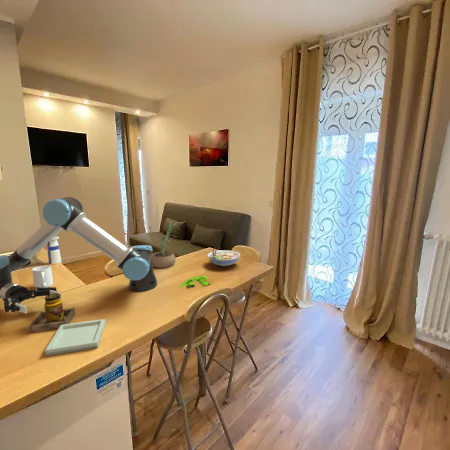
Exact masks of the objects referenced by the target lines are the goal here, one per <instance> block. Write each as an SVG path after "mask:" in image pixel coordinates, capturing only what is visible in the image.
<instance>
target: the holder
mask: <svg viewBox="0 0 450 450" xmlns="http://www.w3.org/2000/svg"><path fill="white" fill-rule="evenodd" d="M63 313H64V317H66V319H65V321H62V322H54V323H47V324H42V323H41V322H42V321H43V319H46V311H41V312H40V313H39V314H38V315H37V316H36V317H35V318H34V320H33V321H32V322H31V323H30V324H29V326H28V327H27V328H28V334H32V333H39V332H46V331H54V330H58V329H59V327H60V326H61V325H63V324H70V323H71V322H72V320H73V318H74V316H75V314H76V309H75V307H70V308H63ZM40 323H41V324H40Z"/></svg>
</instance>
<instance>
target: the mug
mask: <svg viewBox="0 0 450 450" xmlns="http://www.w3.org/2000/svg"><path fill="white" fill-rule="evenodd" d="M31 273H32V280H33V287H34V288H35V287H40V288H44V287H53V284H54V281H53V280H54V279H53V272H52V265H49V264H48V265H40V266H35V267H34V268H32V269H31Z"/></svg>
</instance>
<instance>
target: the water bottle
mask: <svg viewBox="0 0 450 450" xmlns="http://www.w3.org/2000/svg"><path fill="white" fill-rule="evenodd" d="M58 239H60V237H59V236H58V235H55V236H54V237H53V238H52V239H51V240H50V241H49V242H48V243H47V244H46V245H47V246H46V247H47V259H48V265H49V264H54V263H59V262H60V264H61V263H62V257H61V250H60V248H59V245H60V244H59V242H58Z"/></svg>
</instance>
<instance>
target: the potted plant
mask: <svg viewBox="0 0 450 450" xmlns="http://www.w3.org/2000/svg"><path fill="white" fill-rule="evenodd" d="M168 222H169V223H168V227H167V230H166V231H167V232H166V235H165V236H163V237H161V240H160V249H159V251H157V252H154V253H152V254H153V268H156V267H158V268H157V269H166V268H165V267H167V268H170V267H172V266H174V265H175V263H176V256H175V254H174V253H173V252H172V251H166V245H167V242H170V237H174V238H175V239H176V238H177V239H178V237H177V236H176V235H173V234H171V233H172V230H173V228H174V227H175V226H177V223H176V222H175V223H173V224H172V221H171V220H169V221H168ZM177 228H178V230H179V231H181V228H179V227H177Z"/></svg>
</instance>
